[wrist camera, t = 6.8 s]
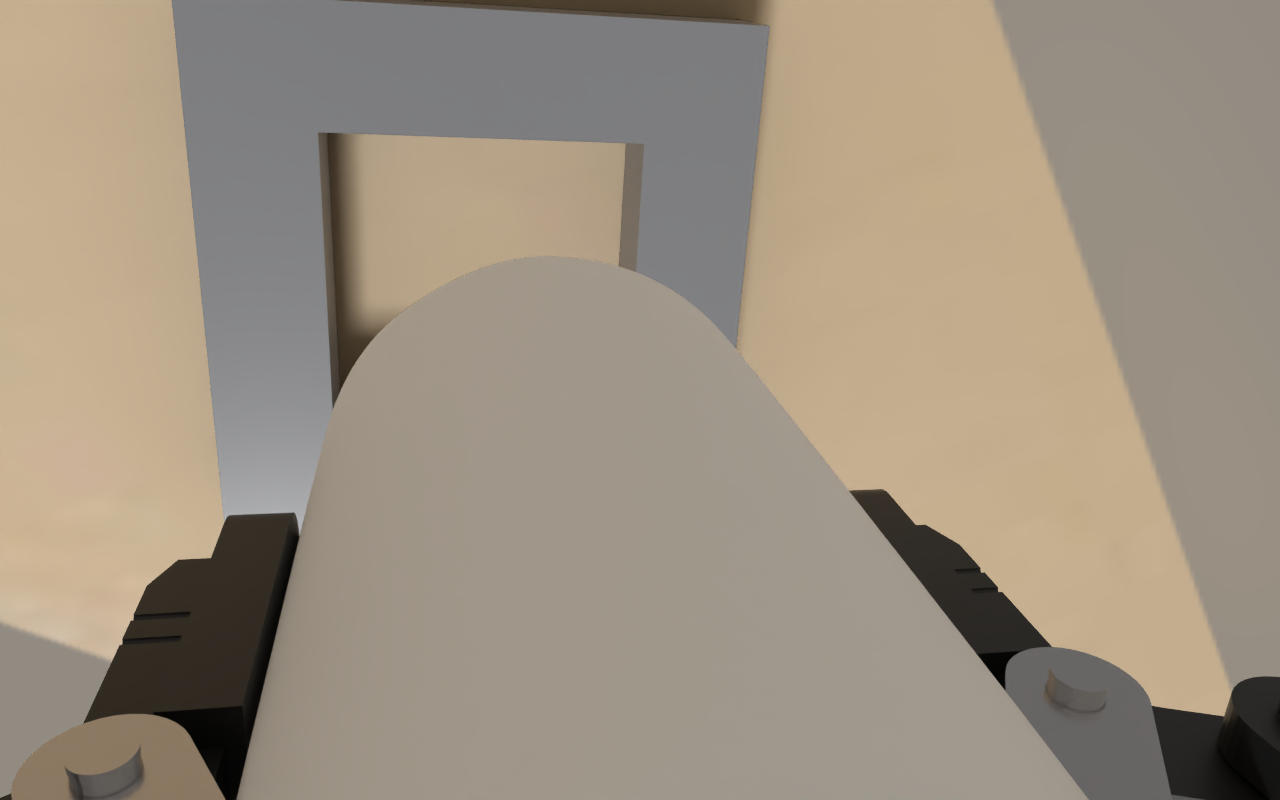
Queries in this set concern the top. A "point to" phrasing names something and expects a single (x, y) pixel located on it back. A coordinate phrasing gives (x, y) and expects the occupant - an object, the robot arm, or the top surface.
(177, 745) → the robot arm
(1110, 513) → the top surface
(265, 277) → the socket plate
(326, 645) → the can
